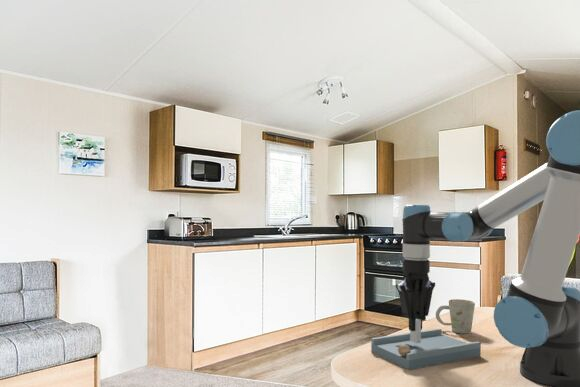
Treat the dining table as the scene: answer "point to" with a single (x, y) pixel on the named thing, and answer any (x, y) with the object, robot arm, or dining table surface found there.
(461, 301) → the mug
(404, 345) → the cork ball
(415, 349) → the plate
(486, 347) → the dining table surface
